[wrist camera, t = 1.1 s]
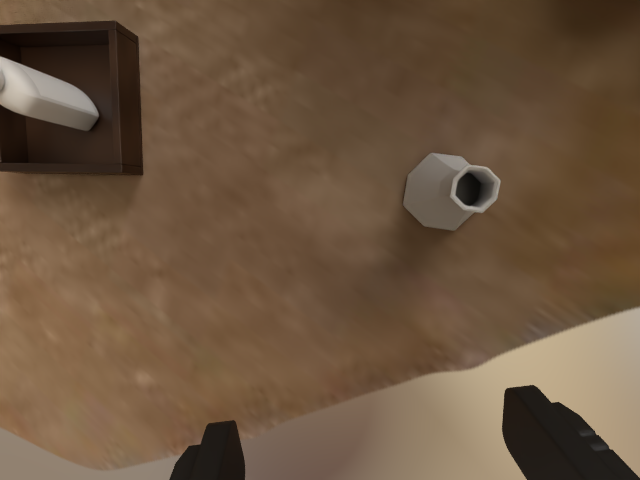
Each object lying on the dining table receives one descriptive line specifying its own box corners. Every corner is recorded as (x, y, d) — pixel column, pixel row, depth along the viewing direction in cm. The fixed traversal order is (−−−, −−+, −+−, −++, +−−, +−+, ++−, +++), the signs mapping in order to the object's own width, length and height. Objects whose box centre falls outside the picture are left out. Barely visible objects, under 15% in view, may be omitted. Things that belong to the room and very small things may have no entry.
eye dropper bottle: (84, 72, 36) (-50, 10, 24) (105, 125, 37) (-18, 90, 25) (49, 88, 37) (-99, 35, 25) (69, 140, 37) (-67, 113, 25)
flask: (389, 209, 34) (401, 213, 25) (425, 140, 33) (452, 114, 24) (457, 243, 34) (497, 260, 24) (496, 174, 33) (554, 162, 23)
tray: (15, 40, 37) (-18, 25, 34) (138, 36, 35) (115, 20, 32) (25, 173, 39) (-6, 171, 35) (143, 175, 37) (122, 172, 34)
